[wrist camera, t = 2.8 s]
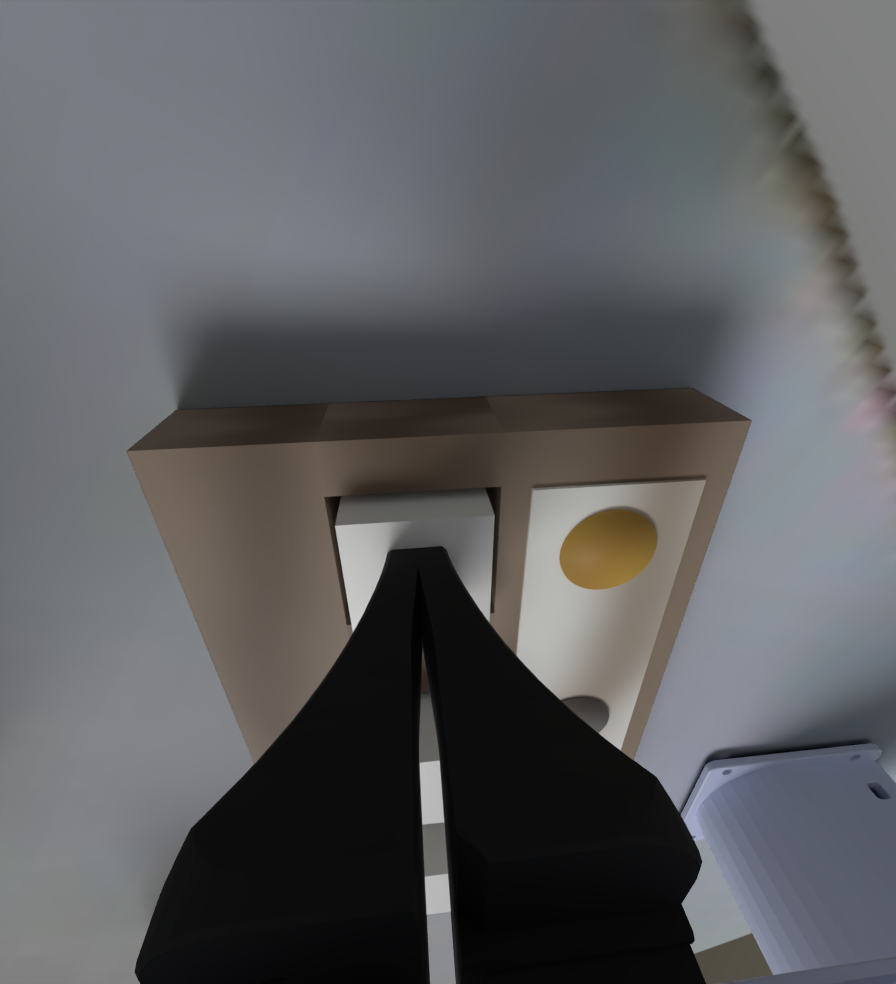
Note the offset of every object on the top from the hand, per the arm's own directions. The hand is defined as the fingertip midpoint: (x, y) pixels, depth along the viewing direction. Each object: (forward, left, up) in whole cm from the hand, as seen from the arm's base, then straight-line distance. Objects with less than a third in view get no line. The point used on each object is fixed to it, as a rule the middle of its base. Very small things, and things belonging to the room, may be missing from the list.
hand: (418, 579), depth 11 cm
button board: (-1, +8, -3) cm, 8 cm away
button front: (0, 0, -3) cm, 3 cm away
